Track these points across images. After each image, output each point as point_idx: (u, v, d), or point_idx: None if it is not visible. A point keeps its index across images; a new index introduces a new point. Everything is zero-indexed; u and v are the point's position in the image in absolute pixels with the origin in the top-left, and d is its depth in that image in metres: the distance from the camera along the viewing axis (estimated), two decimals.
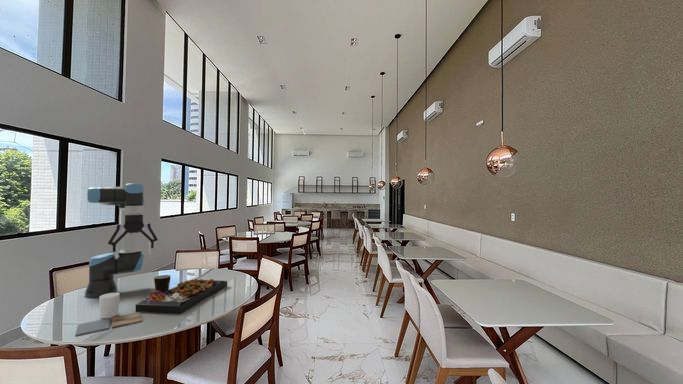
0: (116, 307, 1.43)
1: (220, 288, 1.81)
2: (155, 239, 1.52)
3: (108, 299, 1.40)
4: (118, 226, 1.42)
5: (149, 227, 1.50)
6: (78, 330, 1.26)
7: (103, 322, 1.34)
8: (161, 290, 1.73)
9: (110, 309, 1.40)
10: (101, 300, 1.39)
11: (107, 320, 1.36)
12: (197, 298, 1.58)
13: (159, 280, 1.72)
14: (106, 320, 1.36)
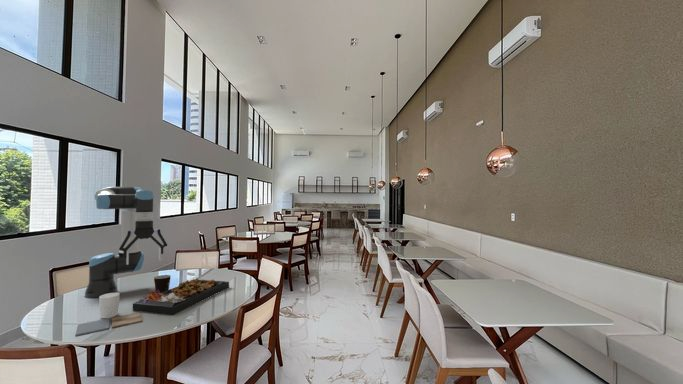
0: (116, 307, 1.43)
1: (220, 289, 1.79)
2: (165, 245, 1.53)
3: (108, 299, 1.40)
4: (129, 232, 1.44)
5: (159, 233, 1.52)
6: (78, 330, 1.26)
7: (103, 322, 1.34)
8: (161, 290, 1.73)
9: (110, 309, 1.40)
10: (101, 300, 1.39)
11: (107, 320, 1.36)
12: (193, 299, 1.57)
13: (159, 280, 1.72)
14: (106, 320, 1.36)
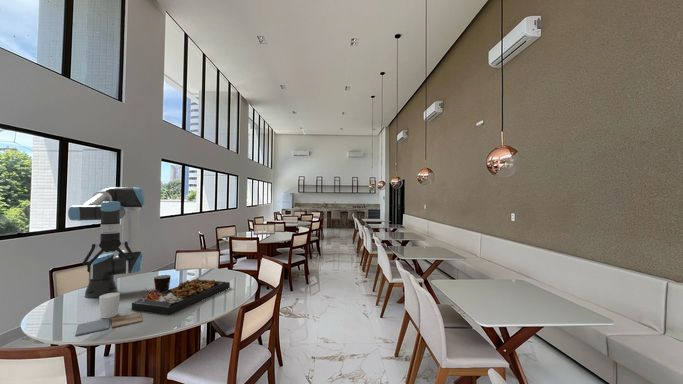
0: (116, 307, 1.43)
1: (220, 289, 1.78)
2: (132, 257, 1.48)
3: (108, 299, 1.40)
4: (93, 245, 1.39)
5: (126, 245, 1.47)
6: (78, 330, 1.26)
7: (103, 322, 1.34)
8: (161, 290, 1.73)
9: (110, 309, 1.40)
10: (101, 300, 1.39)
11: (107, 320, 1.36)
12: (191, 299, 1.56)
13: (159, 280, 1.72)
14: (106, 320, 1.36)
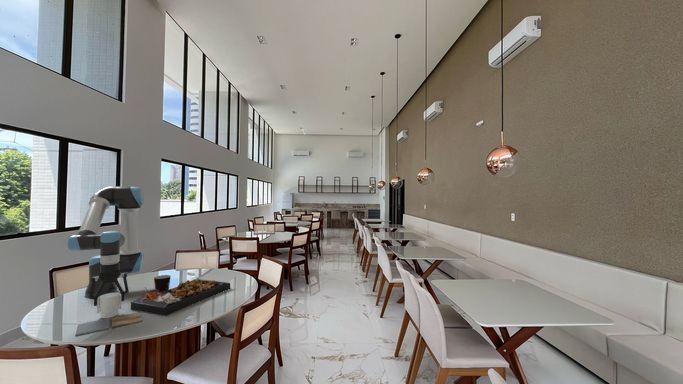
0: (116, 307, 1.43)
1: (220, 290, 1.77)
2: (126, 291, 1.46)
3: (108, 298, 1.40)
4: (93, 279, 1.39)
5: (124, 277, 1.46)
6: (78, 330, 1.26)
7: (103, 322, 1.34)
8: (161, 290, 1.73)
9: (110, 309, 1.40)
10: (101, 300, 1.39)
11: (107, 320, 1.36)
12: (189, 300, 1.56)
13: (159, 280, 1.72)
14: (106, 320, 1.36)
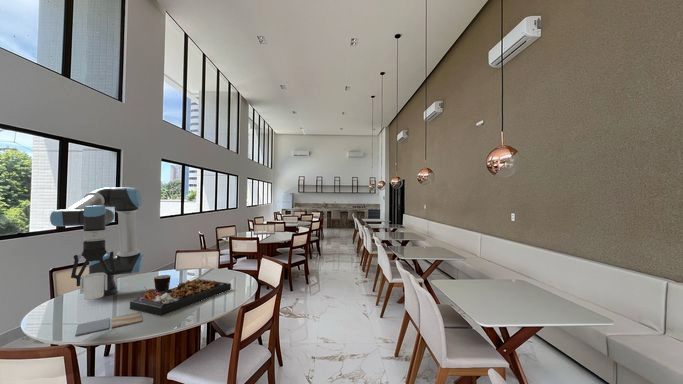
0: (101, 288, 1.30)
1: (220, 291, 1.76)
2: (112, 271, 1.34)
3: (92, 278, 1.27)
4: (75, 256, 1.26)
5: (111, 256, 1.33)
6: (78, 330, 1.26)
7: (103, 322, 1.34)
8: (161, 290, 1.73)
9: (94, 290, 1.28)
10: (84, 280, 1.27)
11: (107, 320, 1.36)
12: (186, 300, 1.55)
13: (159, 280, 1.72)
14: (106, 320, 1.36)
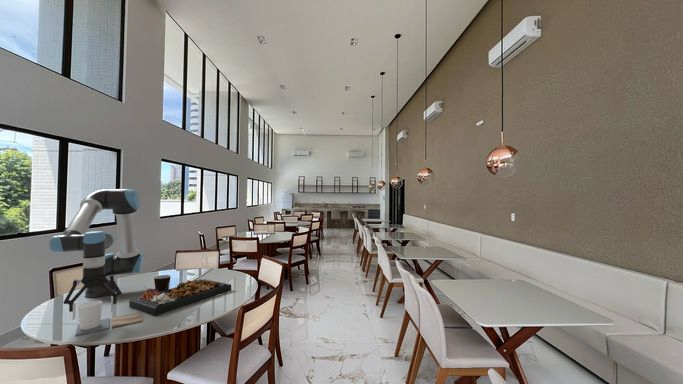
0: (98, 317, 1.29)
1: (220, 292, 1.74)
2: (118, 293, 1.35)
3: (88, 308, 1.26)
4: (74, 282, 1.26)
5: (112, 280, 1.34)
6: (78, 330, 1.26)
7: (103, 322, 1.34)
8: (161, 290, 1.73)
9: (91, 319, 1.27)
10: (81, 309, 1.26)
11: (107, 320, 1.36)
12: (182, 301, 1.54)
13: (159, 280, 1.72)
14: (106, 320, 1.36)
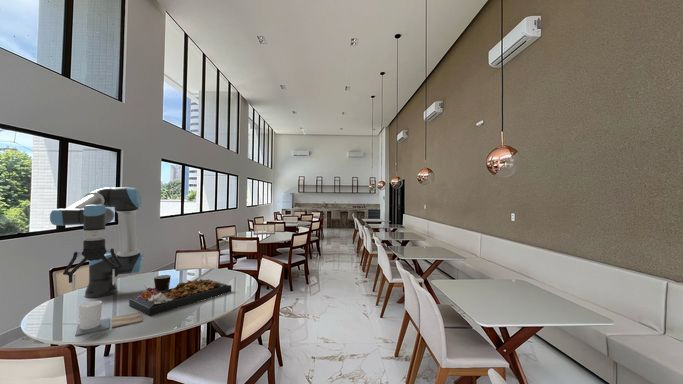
0: (98, 317, 1.29)
1: (219, 293, 1.72)
2: (119, 266, 1.35)
3: (88, 308, 1.26)
4: (75, 254, 1.26)
5: (112, 253, 1.34)
6: (78, 330, 1.26)
7: (103, 322, 1.34)
8: (161, 290, 1.73)
9: (91, 319, 1.27)
10: (81, 309, 1.26)
11: (107, 320, 1.36)
12: (178, 301, 1.53)
13: (159, 280, 1.72)
14: (106, 320, 1.36)
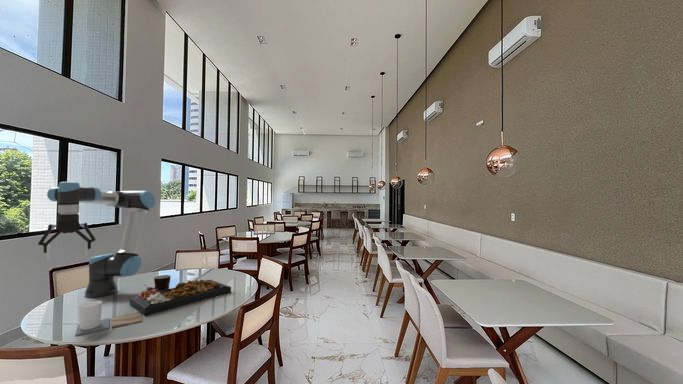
0: (98, 317, 1.29)
1: (218, 294, 1.71)
2: (92, 239, 1.46)
3: (88, 308, 1.26)
4: (50, 226, 1.37)
5: (85, 227, 1.45)
6: (78, 330, 1.26)
7: (103, 322, 1.34)
8: None
9: (91, 319, 1.27)
10: (81, 309, 1.26)
11: (107, 320, 1.36)
12: (175, 302, 1.53)
13: (159, 280, 1.72)
14: (106, 320, 1.36)
